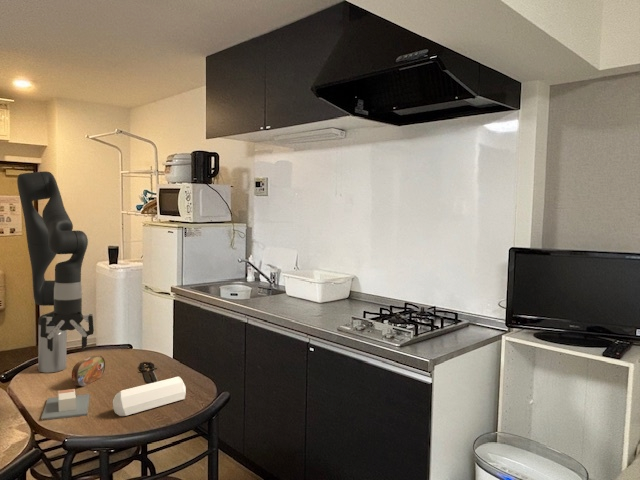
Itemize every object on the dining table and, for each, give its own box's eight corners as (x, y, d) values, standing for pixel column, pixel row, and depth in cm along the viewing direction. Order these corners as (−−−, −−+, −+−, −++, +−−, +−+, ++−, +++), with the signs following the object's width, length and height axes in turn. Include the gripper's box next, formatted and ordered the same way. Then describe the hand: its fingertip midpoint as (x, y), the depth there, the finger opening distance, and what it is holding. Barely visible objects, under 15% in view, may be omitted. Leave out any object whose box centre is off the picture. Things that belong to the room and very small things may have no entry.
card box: (58, 411, 146) (58, 399, 146) (58, 402, 153) (58, 390, 153) (75, 409, 149) (75, 397, 148) (74, 399, 156) (74, 388, 155)
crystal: (175, 379, 168) (105, 397, 150) (185, 374, 163) (114, 391, 146) (181, 401, 166) (110, 422, 148) (191, 396, 161) (119, 417, 144)
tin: (77, 389, 166) (78, 365, 165) (69, 388, 166) (69, 364, 166) (105, 375, 180) (106, 352, 180) (98, 374, 181) (98, 352, 180)
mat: (47, 399, 156) (47, 398, 156) (89, 395, 161) (89, 393, 161) (41, 420, 141) (41, 418, 141) (87, 415, 146) (87, 413, 146)
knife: (158, 386, 173) (158, 382, 173) (138, 387, 171) (139, 384, 171) (156, 364, 196) (156, 360, 196) (138, 365, 194) (138, 361, 194)
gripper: (39, 299, 143) (39, 355, 144) (93, 298, 148) (92, 351, 149) (42, 295, 150) (42, 347, 151) (94, 293, 155) (93, 344, 156)
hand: (67, 349), depth 150 cm, fingers open, 8 cm apart
